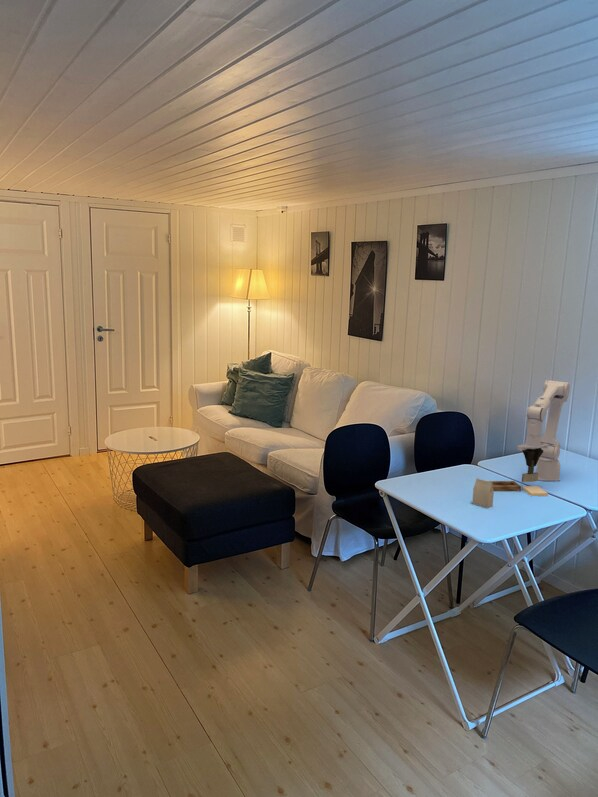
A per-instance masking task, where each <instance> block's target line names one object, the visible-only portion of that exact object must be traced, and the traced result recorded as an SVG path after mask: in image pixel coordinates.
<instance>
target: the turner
mask: <svg viewBox="0 0 598 797" xmlns="http://www.w3.org/2000/svg"><path fill="white" fill-rule="evenodd" d="M534 464H535V460H532V465H531V467H529V466H527V472H526V473H525V472H524V473H522V474H521V482H522V483H533V482H534V483H535V482H538V481H539V480H538V473H536V472H534V471H535V466H534Z"/></svg>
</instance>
